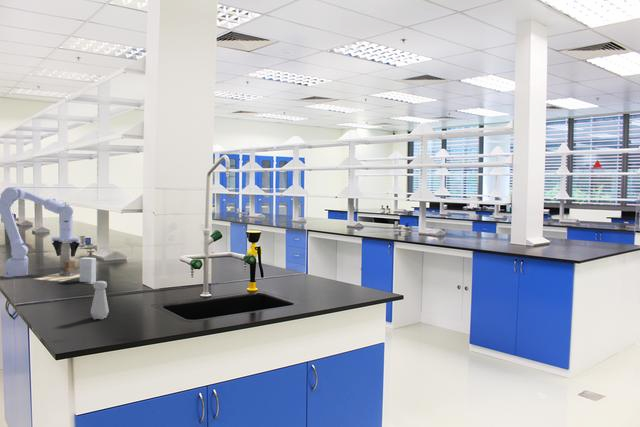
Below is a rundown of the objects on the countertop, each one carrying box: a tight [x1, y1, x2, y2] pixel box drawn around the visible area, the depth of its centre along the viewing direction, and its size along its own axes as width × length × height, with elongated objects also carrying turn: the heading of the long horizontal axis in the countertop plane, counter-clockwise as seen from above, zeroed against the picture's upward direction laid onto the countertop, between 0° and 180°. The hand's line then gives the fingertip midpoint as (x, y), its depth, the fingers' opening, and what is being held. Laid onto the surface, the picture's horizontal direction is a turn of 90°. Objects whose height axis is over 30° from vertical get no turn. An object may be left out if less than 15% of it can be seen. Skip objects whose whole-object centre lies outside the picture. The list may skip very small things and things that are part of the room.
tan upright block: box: [62, 260, 76, 272], centre depth 249 cm, size 3×4×7 cm, turn 169°
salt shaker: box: [90, 280, 110, 320], centre depth 174 cm, size 6×6×13 cm
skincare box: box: [78, 257, 97, 285], centre depth 236 cm, size 6×4×12 cm
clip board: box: [33, 268, 80, 282], centre depth 245 cm, size 16×22×3 cm
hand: (65, 256), depth 253 cm, fingers open, 7 cm apart
